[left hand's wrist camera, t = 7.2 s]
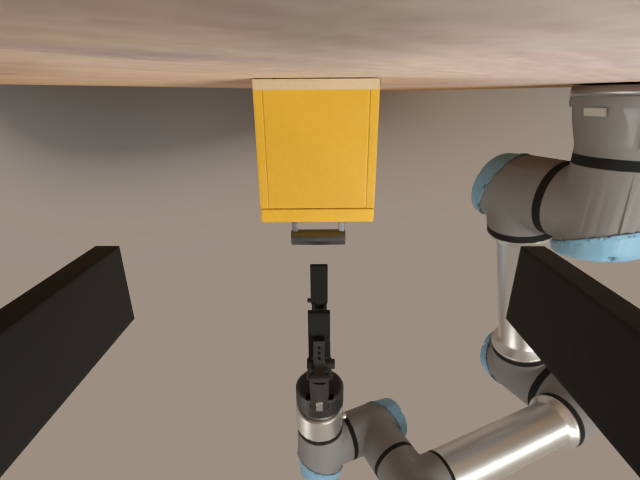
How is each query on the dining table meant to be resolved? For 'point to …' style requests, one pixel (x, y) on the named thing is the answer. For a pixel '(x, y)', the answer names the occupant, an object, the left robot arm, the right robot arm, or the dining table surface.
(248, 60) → the dining table surface
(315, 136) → the chest
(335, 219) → the lid
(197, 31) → the dining table surface
